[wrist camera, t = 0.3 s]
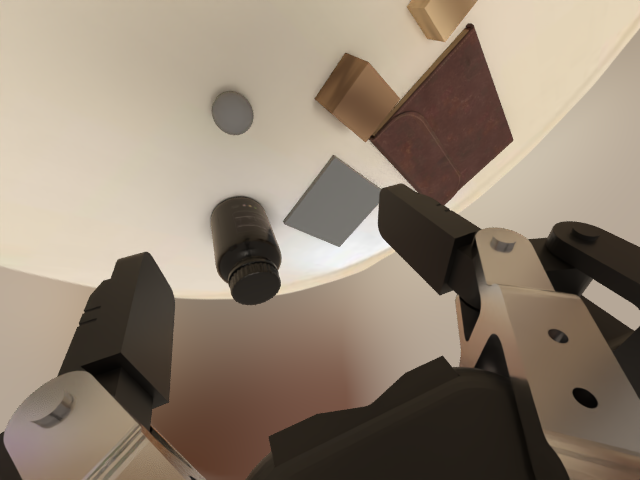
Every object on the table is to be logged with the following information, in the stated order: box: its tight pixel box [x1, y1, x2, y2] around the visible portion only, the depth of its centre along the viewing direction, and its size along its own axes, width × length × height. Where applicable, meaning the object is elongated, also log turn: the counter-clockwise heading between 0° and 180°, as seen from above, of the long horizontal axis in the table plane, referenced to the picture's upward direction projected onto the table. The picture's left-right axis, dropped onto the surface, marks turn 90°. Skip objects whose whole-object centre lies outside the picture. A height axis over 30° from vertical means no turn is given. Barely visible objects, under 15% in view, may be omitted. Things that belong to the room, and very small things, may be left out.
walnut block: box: [315, 53, 400, 142], centre depth 27 cm, size 5×5×5 cm
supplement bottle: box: [211, 197, 282, 305], centre depth 30 cm, size 7×7×12 cm
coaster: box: [283, 155, 381, 247], centre depth 39 cm, size 11×11×1 cm
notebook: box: [369, 24, 513, 205], centre depth 37 cm, size 15×20×2 cm
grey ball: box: [212, 92, 253, 135], centre depth 25 cm, size 4×4×4 cm
